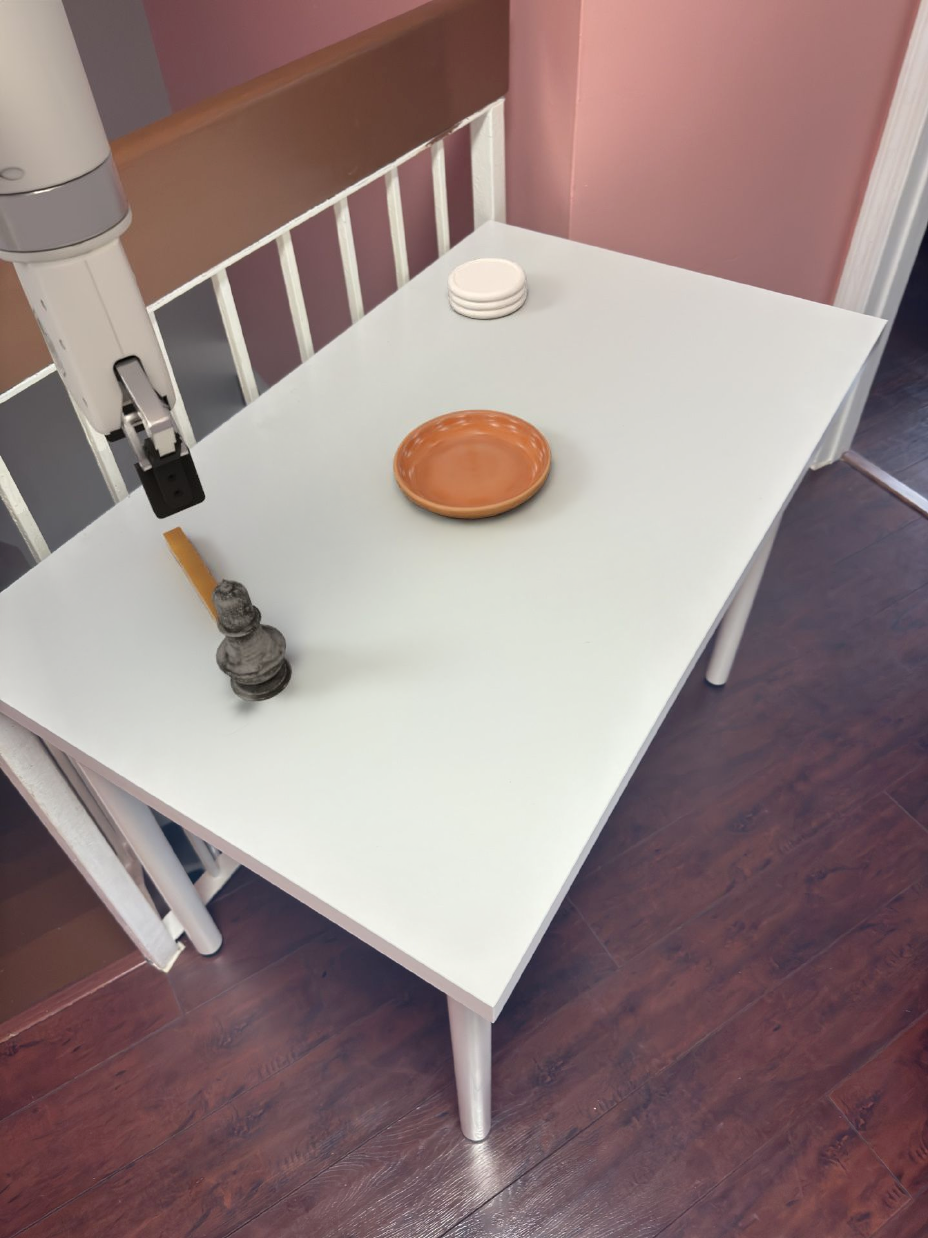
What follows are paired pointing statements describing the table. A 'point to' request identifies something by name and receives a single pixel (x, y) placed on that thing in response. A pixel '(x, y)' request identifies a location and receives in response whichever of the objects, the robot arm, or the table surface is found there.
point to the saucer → (472, 463)
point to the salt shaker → (248, 645)
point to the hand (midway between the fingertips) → (154, 468)
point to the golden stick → (192, 567)
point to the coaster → (487, 288)
